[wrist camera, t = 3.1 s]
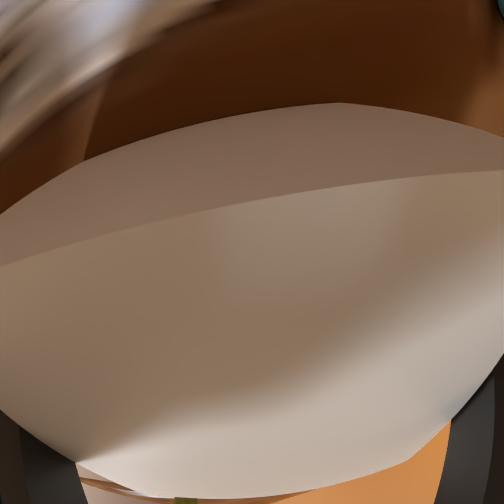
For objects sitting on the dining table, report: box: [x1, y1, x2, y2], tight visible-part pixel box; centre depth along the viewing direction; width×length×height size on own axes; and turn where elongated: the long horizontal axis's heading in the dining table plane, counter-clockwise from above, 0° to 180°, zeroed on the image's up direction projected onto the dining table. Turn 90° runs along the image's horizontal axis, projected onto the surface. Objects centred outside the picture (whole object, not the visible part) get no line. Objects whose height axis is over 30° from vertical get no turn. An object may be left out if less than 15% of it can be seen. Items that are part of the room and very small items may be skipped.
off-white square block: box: [0, 103, 504, 499], centre depth 8 cm, size 10×10×9 cm
